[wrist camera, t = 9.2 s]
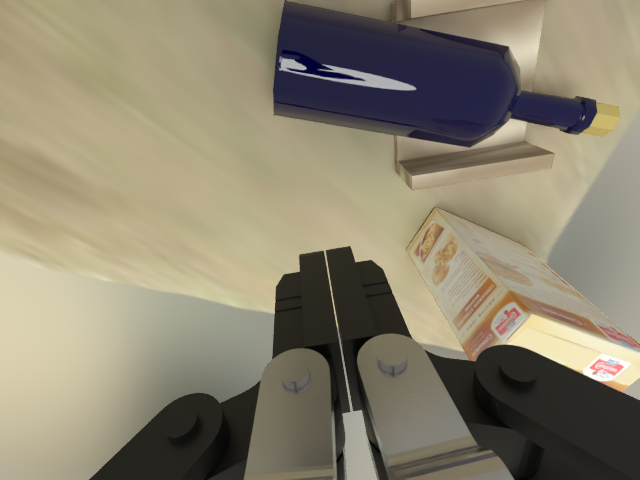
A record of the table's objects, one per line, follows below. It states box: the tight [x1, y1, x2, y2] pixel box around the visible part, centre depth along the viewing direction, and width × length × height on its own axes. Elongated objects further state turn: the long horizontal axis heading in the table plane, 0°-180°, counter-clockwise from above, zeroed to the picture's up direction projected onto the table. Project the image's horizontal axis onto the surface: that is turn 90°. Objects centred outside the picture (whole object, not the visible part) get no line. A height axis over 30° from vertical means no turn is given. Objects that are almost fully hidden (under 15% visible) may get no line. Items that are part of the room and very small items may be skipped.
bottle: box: [273, 0, 620, 148], centre depth 31 cm, size 9×9×30 cm
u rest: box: [391, 0, 555, 190], centre depth 33 cm, size 16×14×6 cm
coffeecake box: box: [406, 207, 640, 392], centre depth 37 cm, size 15×7×20 cm, turn 65°
